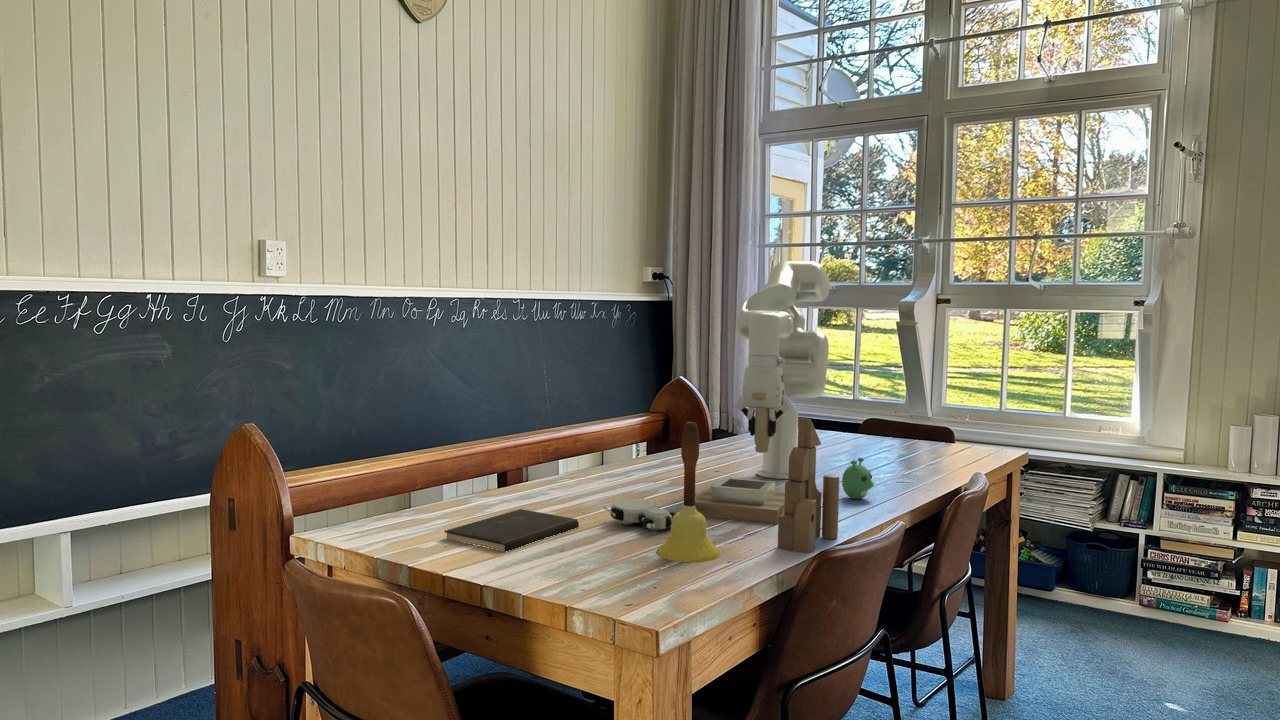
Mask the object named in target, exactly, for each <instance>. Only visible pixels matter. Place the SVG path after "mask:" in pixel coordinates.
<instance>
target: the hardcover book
mask: <svg viewBox="0 0 1280 720" xmlns="http://www.w3.org/2000/svg"><path fill="white" fill-rule="evenodd" d="M577 527H578V528H580V527H579V520H578V519H577V518H572V517H568V516H561V515H555V514H550V513H545V512H539V511H534V510H530V509H529V510H527V509H522V508H519V509H516V510H512V511H510V512H509V511H508V512H506V513H502V514H498V515H495V516H492V517H488V518H484V519H481V520H477V521H474V522H471V523H467V524H462V525H460V526H456V527H453V528H448V529H446V530H444V533H445V534H446V536H445V537H446V540H448V539H452V540H456V541H455V542H457V541H461V542H465V543H464V544H466V543H470V544H469V545H471V544H475V545H480V546H485V547H489V548H493V549H498V550H502V551H501V552H503V551H505V552H504V553H507V552H506V551H508V552H510V551H509V550H511V551H513V550H512V549H514V550H516V549H515V548H517V549H519V548H518V547H520V548H522V547H521V546H523V547H525V546H524V545H526V544H529V543H532V542H535V541H538V540H541V539H544V538H546V537H550V536H553V535H555V536H558V535H560V534H559V533H561V534H564V533H567V532H569V531H568V530H570V531H572V530H571V529H573V530H575V529H574V528H576V529H578V528H577ZM566 531H567V532H566ZM563 532H564V533H563ZM557 534H558V535H557ZM553 537H554V536H553ZM550 538H551V537H550ZM452 540H451V541H452ZM544 540H545V539H544ZM541 541H542V540H541ZM461 542H460V543H461ZM538 542H539V541H538ZM535 543H536V542H535ZM532 544H533V543H532ZM475 545H474V546H475ZM529 545H530V544H529ZM480 546H479V547H480ZM526 546H527V545H526ZM489 548H488V549H489ZM493 549H492V550H493ZM498 550H497V551H498Z"/></svg>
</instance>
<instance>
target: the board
mask: <svg viewBox="0 0 1280 720" xmlns="http://www.w3.org/2000/svg"><path fill="white" fill-rule="evenodd" d="M784 502H785V490H784V491H783V490H775V495H773V496H772V497H771V498H770V499H769V500H768V501H767V502H766V503H765V504H764V505H762V504H751V503H741V502H731V501H720V500H712V486H711V487H709V488H708V489H706V490H705V491H703V492H702V493H699V495H697V496H695V507H696V510H697V511H698V512H699V513H701V514H702V515H703V516H704V517H705V518H716V519H727V520H737V521H745V522H754V523H755V522H757V523H764V524H775V525H777V524H778V517H779V516H780V515H782V514H785V513H784Z"/></svg>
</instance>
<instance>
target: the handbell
mask: <svg viewBox="0 0 1280 720" xmlns="http://www.w3.org/2000/svg"><path fill="white" fill-rule="evenodd" d="M698 428H699V427H698V424H697V423H696V421H695V422H694V421H686V422H685V424H684V426H683V431H682V436H681V445H680V446H681V447H680V448H681V449H680V451H681V452H680V453H681V459H682V463H683V474H684V475H683V504H682V505H683V506H682V509H681V510H680V511H678V512H675V513H676V514H675V515H674V516H673V518H672V524H671V527H670V535H669V537H668V538H667V539H666V541H664V542H663V543H661V544H660V545H659V546H658V548H657V549H656V551H655V553H656V555H657V556H659V557H660V558H662V559H664V560H665V559H666V560H668V561H674V562H681V563H702V562H703V563H704V562H709V561H713V560H717V559H718V558H720V556H721V555H722V554H721V551H720V550H719V548H718V547H717V546H716V545H715V544H714V543H712V542H711V540H710V539H709V538H708V536H707V519H706V516H703V515H702V514H701V513H699V512H698V511H697V510H696V507H695V498H696V472H697V471H696V468H697V463H698V461H699V460H698V459H699V457H700V435H699V429H698Z"/></svg>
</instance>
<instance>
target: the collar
mask: <svg viewBox="0 0 1280 720" xmlns="http://www.w3.org/2000/svg"><path fill="white" fill-rule="evenodd" d="M711 487H712V500H720V501H731V502H741V503H751V504H762V505H764V504H765V503H766V502H767V501H768V500H769V499H770V498H771V497H772V496H773V495H775V491H776V481H773V480H765V479H764V480H762V479H761V480H760V479H751V478H749V479H748V478H739V477H724V478H722V479H720V481H718V482H716V483H715V484H713V485H712V486H711Z"/></svg>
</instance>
